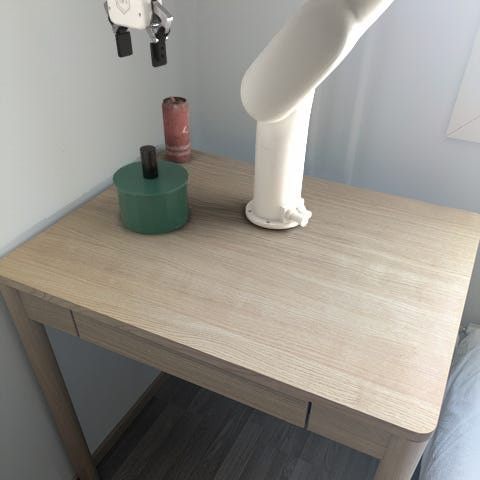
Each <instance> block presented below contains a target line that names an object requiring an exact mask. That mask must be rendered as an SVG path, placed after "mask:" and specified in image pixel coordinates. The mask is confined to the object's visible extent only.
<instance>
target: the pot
mask: <svg viewBox="0 0 480 480" xmlns="http://www.w3.org/2000/svg"><path fill="white" fill-rule="evenodd" d="M115 188H116V187H115ZM188 191H189V190H188V182H187V183H186V184H185V185H184V186H183V187H182V188H180V189H178V190H177V191H174V192H171V193H168V194H164V195H159V196H136V195H131V194H127V193H124V192H122V191H120V190H119V189H117V188H116V194H117V201H118V206H119V212H120V217H121V221H122V224H123V226H124V227H126V229H128V230H130V231H132V232H134V233H138V234H141V235H142V234H143V235H162V234H167V233H170V232H174V231H176V230H178V229H180V228H181V227H183V226H184V225H185V224H186V223H187V222H188V220H189V213H190V208H189V207H190V206H189V192H188Z"/></svg>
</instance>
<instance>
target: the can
mask: <svg viewBox="0 0 480 480" xmlns="http://www.w3.org/2000/svg"><path fill="white" fill-rule="evenodd" d="M161 112H162V122H163V124H162V125H163V135H164V146H165V148H164V149H165V157H166V159H167V161H170V162H174V163H177V164H183V163H187V162H188V161H190V159H191V157H192V151H191V150H192V149H191V132H190V131H191V130H190V113H189V112H190V111H189V103H188V101H187V99H186V98H185V97H182V96H168V97H165V98H164V99H162V103H161Z"/></svg>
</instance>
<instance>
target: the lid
mask: <svg viewBox="0 0 480 480" xmlns="http://www.w3.org/2000/svg"><path fill="white" fill-rule="evenodd" d="M157 154H158V153H157V148H156V146H155V145H151V144H147V145H142V146H140V147H139V155H140V160H139V161H134V162H131V163H128V164H125V165H123V166H121V167H120V168H118V169H117V170H116V171H115V172H114V174H113V175H112V184H113V185H114V187H115V188H117V189H119V190H120V191H122V192H124V193H127V194H131V195H136V196H159V195H164V194H168V193H171V192H174V191H177V190H178V189H180V188H182V187H183V186H184V185H185V184H186V183H187V184H188V182H189V178H190V177H189V171H188V170H187V169H186V168H185V167H184V166H183V165H182V164H180V163H174V162H170V161H169V160H166V159H165V160H164V159H158V155H157ZM117 189H116V190H117Z"/></svg>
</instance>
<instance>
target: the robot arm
mask: <svg viewBox="0 0 480 480" xmlns="http://www.w3.org/2000/svg"><path fill="white" fill-rule="evenodd" d="M394 1H395V0H308V1H306V2H305V3H304V4H302V5H301V6H299V8H298V9H296V10H295V11H294V12H293V13H292V15H291V16H290V17H289V18H288V19H287V20H286V22H285V23H284V24H283V25H282V26H281V28H279V30H278V31H277V33H276V34H275V35H274V36H273V38H272V39H271V40H270V41H269V42H268V43H267V44H266V46H265V47H264V49H262V51H261V52H260V53H259V54H258V56H256V57H255V59H254V61H253V62H252V63H251V65H250V66H249V67H248V68H247V70H246V71H245V73H244V74H243V77H242V79H241V84H240V100H241V103H242V106H243V108H244V111H245V112H246V113H247V114H248V115H249V116H250V117H251V118H252V119H253V120H255V121H256V127H255V128H256V129H255V147H254V148H255V150H254V172H253V173H254V175H253V198H252V199H251V200H250V201H248V203H247V204H246V206H245V216H246V218H247V220H248V221H250V222H251V223H252V224H254V225H256V226H258V227H261V228H265V229H269V230H283V229H284V230H285V229H291V228H294V227H297V226H298V225H299V226H301V227H306V226H307V224H308V222H309V219H310V218H311V217H312V212H311V211H310V210H307V209H306V206H305V205H304V203H305V199H304V198H303V197H301V193H302V185H303V175H304V166H305V165H304V164H305V158H306V157H305V156H306V149H307V148H306V147H307V140H308V131H309V125H310V124H309V123H310V115H311V110H312V106H313V100H314V97H315V96H314V95H315V89H316V88H318V86H319V85H320V84H322V82H324V80H325V79H326V78H327V77H328V76H330V74H331V73H332V72H333V71H334V70H335V69H336V68H337V67H338V66H339V65H340V63H342V61H343V60H344V59H345V58H346V56H347V55H348V54H349V53H350V52H351V51H352V49H353V48H354V46H355V45H356V43H357V42H358V40H359V39H360V38H361V37H362V36H363V34H364V33H365V32H366V31H367V30H368V29H369V27H371V26H372V25H373V24H374V22H376V21H377V19H378V18H379V17H380V16H381V15H382V14H383V13H384V12H385V11H386V10H387V8H388V7H389V6H390V5H391V4H392V3H393V2H394ZM103 8H104V10H105V13H106V15H107V20H108V22H109V24H110V25H111V30H112V33H113V34H114V37H115V45H116V52H117V56H118V58H120V59H121V58H122V59H123V58H126V57H129V56H133V54H134V52H133V44H132V35H131V31H129V30H128V29H132V30H133V29H134V30H137V31H144V30H146V32H147V34H148V36H149V38H150V40H151V42H149V48H150V58H151V66H152V67H153V68H160V67H163V66H166V65H167V64H168V57H167V56H168V55H167V45H166V41H168V38H169V37H168V36H169V35H170V33H171V27H172V24H173V15H172V14H171V13H170V12H169V11H168V10H167V9H166V8H165V7H164V6H163V1H162V0H105V2H103ZM155 30H156V31H155Z"/></svg>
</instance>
